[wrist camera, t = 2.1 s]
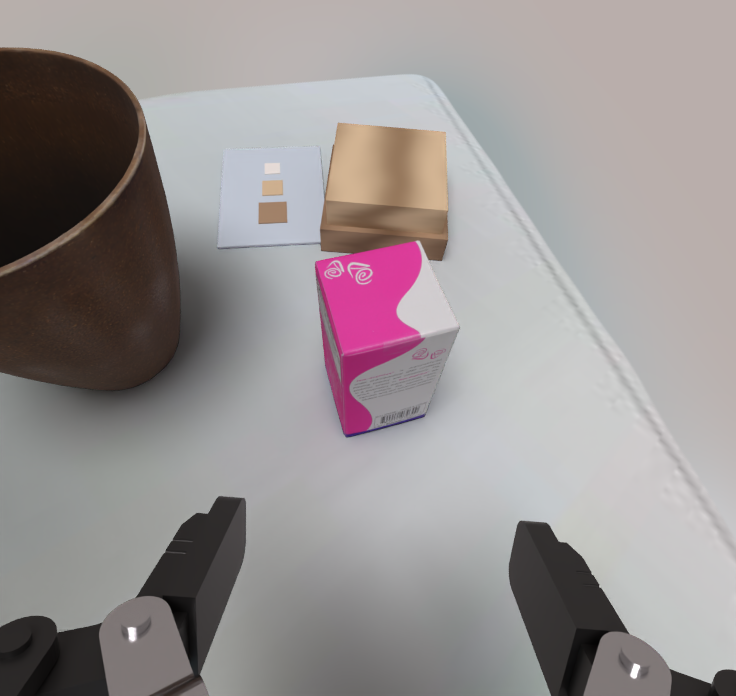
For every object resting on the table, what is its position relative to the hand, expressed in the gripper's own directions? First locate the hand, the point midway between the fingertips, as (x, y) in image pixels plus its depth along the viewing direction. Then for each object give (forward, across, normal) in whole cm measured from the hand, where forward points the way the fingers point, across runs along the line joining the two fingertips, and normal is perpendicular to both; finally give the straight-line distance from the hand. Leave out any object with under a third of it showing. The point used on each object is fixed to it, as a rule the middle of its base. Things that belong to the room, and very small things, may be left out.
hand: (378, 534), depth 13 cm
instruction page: (+31, +10, -10) cm, 34 cm away
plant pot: (+20, +18, +1) cm, 27 cm away
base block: (+30, 0, -9) cm, 31 cm away
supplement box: (+18, 0, +3) cm, 18 cm away
